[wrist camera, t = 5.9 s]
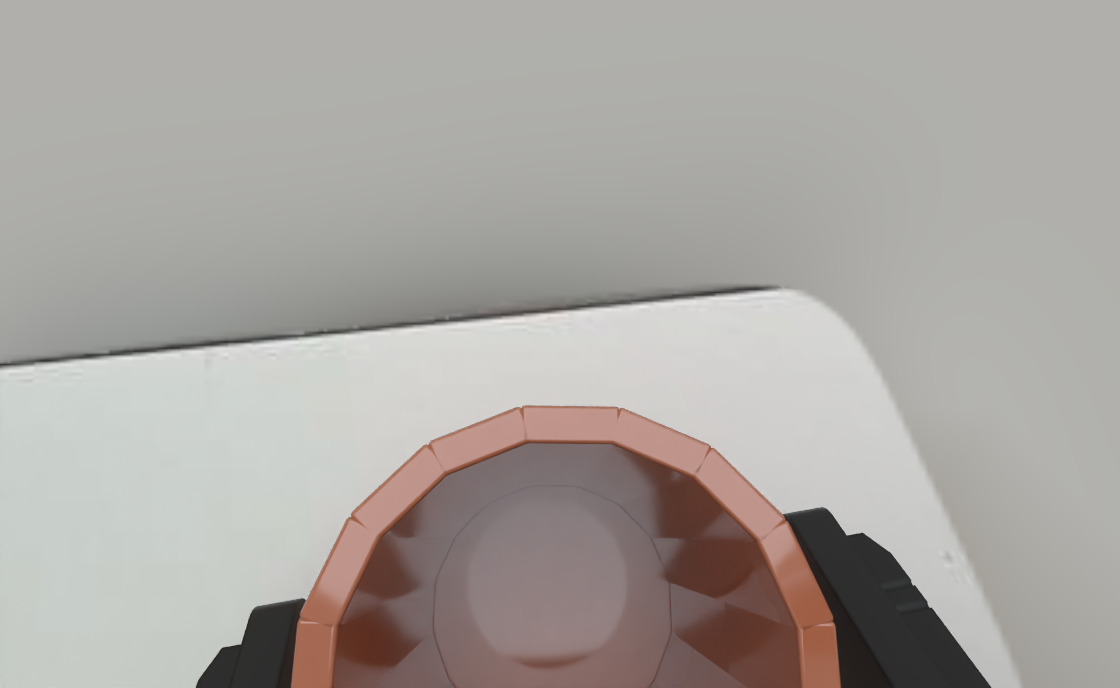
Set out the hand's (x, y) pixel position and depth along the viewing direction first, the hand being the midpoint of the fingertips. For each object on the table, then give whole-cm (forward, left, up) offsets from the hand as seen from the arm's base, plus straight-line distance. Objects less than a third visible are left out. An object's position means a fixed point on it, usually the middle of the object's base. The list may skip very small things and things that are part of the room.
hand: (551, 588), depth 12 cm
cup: (0, +1, -6) cm, 6 cm away
